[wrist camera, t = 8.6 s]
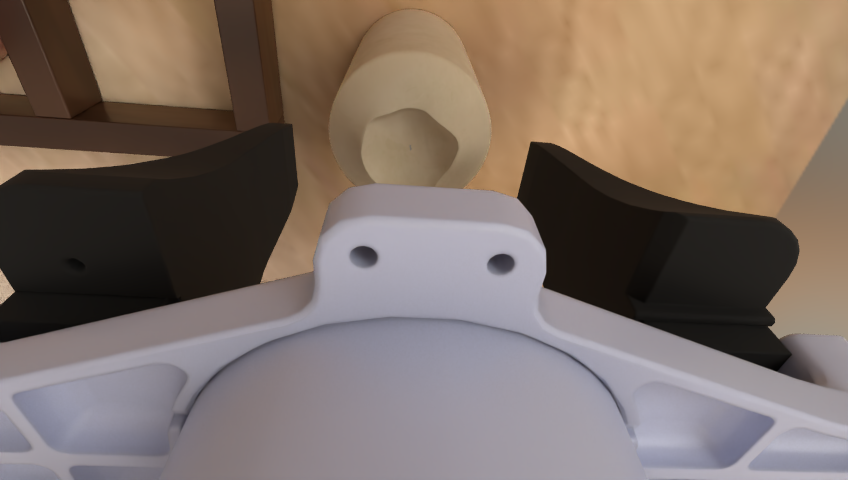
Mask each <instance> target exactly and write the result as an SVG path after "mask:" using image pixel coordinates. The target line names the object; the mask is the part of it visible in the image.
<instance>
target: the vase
mask: <svg viewBox="0 0 848 480" xmlns="http://www.w3.org/2000/svg"><path fill="white" fill-rule="evenodd" d="M7 54H8V53H7V51H6V49H5V47H4V44H3V42H2V40H1V38H0V61H1V60H2V59H3V58H5V56H6V55H7Z"/></svg>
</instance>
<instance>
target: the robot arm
mask: <svg viewBox="0 0 848 480" xmlns="http://www.w3.org/2000/svg"><path fill="white" fill-rule="evenodd" d="M297 188H298V180H297V170H296V159H295V149H294V139H293V129H292V124H282V123H267V124H263V125H260V126H258V127H255V128H252V129H250V130H248V131H245V132H243V133H240V134H238V135H236V136H233V137H231V138H228V139H226V140H223V141H220V142H218V143H215V144H212V145H210V146H207V147H204V148H201V149H198V150H195V151H192V152H188V153H185V154H181V155H177V156H173V157H169V158H164V159H159V160H153V161H147V162H142V163H136V164H129V165H121V166H112V167H100V168H87V169H53V170H24V171H22V172H20V173H19V174H17V175H16V176H14V177H13V178H11V179H9V180H8V181H6V182H5V183H3V184H1V185H0V269H1V270H2V272H3V273H4V275H5V277H6V278H7V280H8V281H9V283H10V284H11V286H12V288H13V289H14V291H15V292H14V293H13V294H12V295H11V296H10V297H9V298H8V299H7V300H6V301H5V302H3V303H2V304H0V480H848V341H847V340H846V339H845V338H844V337H842V336H837V335H836V336H835V335H815V334H791V335H787V336H784V337H782V338H780V339H778V338H777V337H776V336H775V334H774V333H773V332H772V331H771V330H770V329H769V328H768V326H772V325H773V324H774V323H775V318H774V317H773V316H772V315H771V313H770V312H769V311H768V310H767V309H766V306H767V305H768V304H769V302H770V301H771V300H772V298H773V297H774V296H775V294H776V293H777V292H778V291H779V289H780V288H781V286H782V285H783V284H784V283H785V281H786V280H787V279H788V277H789V276H790V274H791V272H792V271H793V269H794V267H795V265H796V263H797V259H798V255H799V245H798V239H797V238H796V237H795V235H794V234H793V233H792V231H791V230H790V229H789V228H787V227H786V226H785V225H784V224H782V223H781V222H780V221H778V220H777V219H776V218H773V217H767V216H760V215H753V214H746V213H739V212H732V211H726V210H721V209H716V208H711V207H706V206H702V205H697V204H693V203H689V202H685V201H681V200H678V199H675V198H671V197H668V196H664V195H661V194H658V193H655V192H652V191H649V190H647V189H644V188H642V187H639V186H637V185H634V184H631V183H629V182H627V181H624V180H622V179H620V178H618V177H616V176H614V175H612V174H610V173H608V172H606V171H604V170H602V169H600V168H598V167H596V166H594V165H593V164H591V163H589V162H587V161H585V160H584V159H582V158H580V157H578V156H577V155H575V154H573V153H571V152H569V151H568V150H566V149H564V148H562V147H560V146H558V145H555V144H552V143H542V142H531V143H530V147H529V151H528V155H527V160H526V164H525V168H524V172H523V176H522V180H521V184H520V188H519V193H518V197H517V198H514V197H511V196H508V195H505V194H502V193H498V192H495V191H489V190H473V189H458V188H443V187H427V186H412V185H397V184H381V183H374V184H368V185H362V186H356V187H350V188H348V189H346V190H345V191H344V192H343V193H341V194H340V195H339V196H338V197H337V198H335V199H334V200H333V201H332V202H331V203H329V206H328V210H327V213H326V216H325V220H324V223H323V226H322V229H321V233H320V236H319V240H318V243H317V247H316V251H315V254H314V258H313V265H314V271H313V272H309V273H305V274H300V275H296V276H292V277H287V278H283V279H279V280H274V281H270V282H266V283H261V284H260V282H261V279H262V276H263V272H264V270H265V267H266V265H267V262H268V260H269V258H270V255H271V253H272V251H273V249H274V247H275V245H276V243H277V241H278V238H279V236H280V234H281V232H282V230H283V228H284V226H285V223H286V221H287V219H288V217H289V215H290V212H291V210H292V207H293V203H294V200H295V196H296V192H297ZM542 284H543V287H544V288H543V287H542Z"/></svg>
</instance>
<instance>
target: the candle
mask: <svg viewBox="0 0 848 480" xmlns="http://www.w3.org/2000/svg"><path fill="white" fill-rule="evenodd" d="M329 138H330V144H331V148H332V151H333V154H334V156H335V159H336V161H337V163H338V165H339V166H340V168H341V170H342V171H343V172H344V174H345V175H346V177H347V178H348V179H349V180H350V181H351V182H352V183H353V184H354V185H355V186H362V185H368V184H374V183H381V184H397V185H412V186H427V187H443V188H458V189H463V188H464V187H465V186H466V185H467V184H468V183H469V182H470V181H471V180H472V179H473V178H474V177H475V175H476V174H477V173H478V172H479V170H480V168H481V167H482V165H483V163H484V161H485V158H486V156H487V154H488V150H489V146H490V141H491V119H490V113H489V110H488V106H487V103H486V100H485V98H484V95H483V93H482V90H481V88H480V85H479V83H478V80H477V78H476V75H475V73H474V70H473V68H472V65H471V63H470V60H469V58H468V55H467V52H466V50H465V48H464V46H463V43H462V41H461V39H460V38H459V36H458V35H457V33H456V32H455V30H454V29H453V28H452V27H451V26H450V25H449V24H448V23H447V22H446V21H444V20H443V19H442V18H440V17H439V16H437V15H435V14H433V13H430V12H427V11H424V10H418V9H405V10H399V11H395V12H392V13H390V14H387V15H385V16H384V17H382V18H381V19H379V20H378V21H377V22H375V23H374V24H373V25H372V26H371V27H370V29H369V30H368V31H367V32H366V34H365V35H364V37H363V39H362V41H361V43H360V45H359V47H358V49H357V51H356V53H355V55H354V58H353V60H352V62H351V64H350V66H349V69H348V71H347V73H346V75H345V77H344V79H343V82H342V84H341V86H340V88H339V90H338V93H337V95H336V97H335V99H334V102H333V105H332V108H331V113H330V118H329Z"/></svg>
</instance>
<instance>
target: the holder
mask: <svg viewBox="0 0 848 480" xmlns="http://www.w3.org/2000/svg"><path fill="white" fill-rule="evenodd" d="M214 3H215V9H216V15H217V20H218V26H219V32H220V37H221V43H222V49H223V54H224V60H225V66H226V71H227V77H228V83H229V88H230V94H231V100H232V105H233V111H223V110H210V109H196V108H183V107H169V106H156V105H142V104H129V103H115V102H102V98H101V95H100V92H99V89H98V86H97V83H96V81H95V78H94V75H93V72H92V69H91V66H90V64H89V61H88V58H87V55H86V52H85V49H84V47H83V44H82V41H81V38H80V35H79V32H78V29H77V27H76V24H75V21H74V18H73V15H72V12H71V10H70V7H69V4H68V1H67V0H0V38H1V40H2V42H3V44H4V47H5V49H6V51H7V53H8V55H9V58H10V60H11V62H12V64H13V66H14V69H15V71H16V73H17V75H18V78H19V80H20V82H21V84H22V86H23V89H24V91H25V93H26V95H27V96H21V95H8V94H0V145H6V146H21V147H36V148H50V149H65V150H80V151H95V152H110V153H125V154H140V155H155V156H170V157H173V156H177V155H181V154H185V153H188V152H192V151H195V150H198V149H201V148H204V147H207V146H210V145H212V144H215V143H218V142H220V141H223V140H226V139H228V138H231V137H233V136H236V135H238V134H240V133H243V132H245V131H248V130H250V129H252V128H255V127H258V126H260V125H263V124H267V123H282V124H284V116H283V106H282V96H281V87H280V78H279V69H278V59H277V50H276V41H275V32H274V22H273V13H272V4H271V0H214Z"/></svg>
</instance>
